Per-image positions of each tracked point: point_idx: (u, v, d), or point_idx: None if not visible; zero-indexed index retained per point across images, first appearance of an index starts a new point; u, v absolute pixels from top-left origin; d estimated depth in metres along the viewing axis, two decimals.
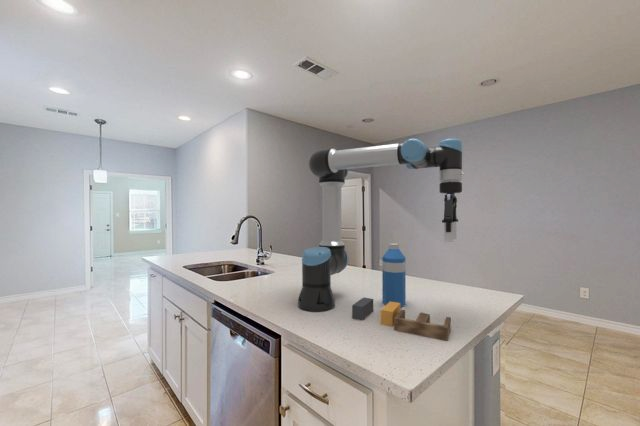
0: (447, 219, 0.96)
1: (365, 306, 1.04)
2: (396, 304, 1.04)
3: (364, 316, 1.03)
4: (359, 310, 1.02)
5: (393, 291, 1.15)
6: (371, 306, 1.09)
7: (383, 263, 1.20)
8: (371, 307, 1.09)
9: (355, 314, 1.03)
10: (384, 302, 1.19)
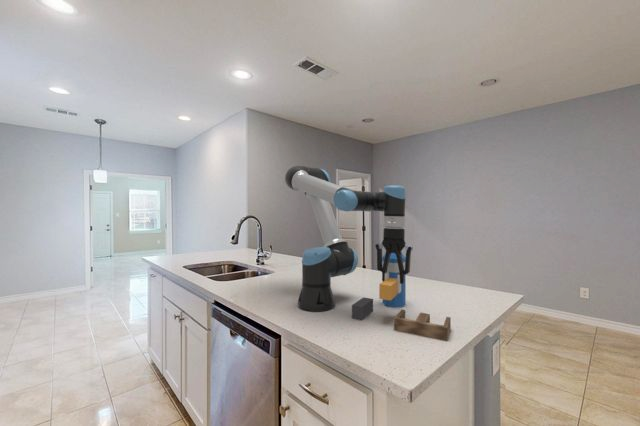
0: None
1: (365, 306, 1.04)
2: (395, 280, 1.04)
3: (364, 316, 1.03)
4: (358, 310, 1.02)
5: None
6: (371, 306, 1.09)
7: (383, 263, 1.20)
8: (371, 307, 1.09)
9: (354, 314, 1.03)
10: (384, 302, 1.19)
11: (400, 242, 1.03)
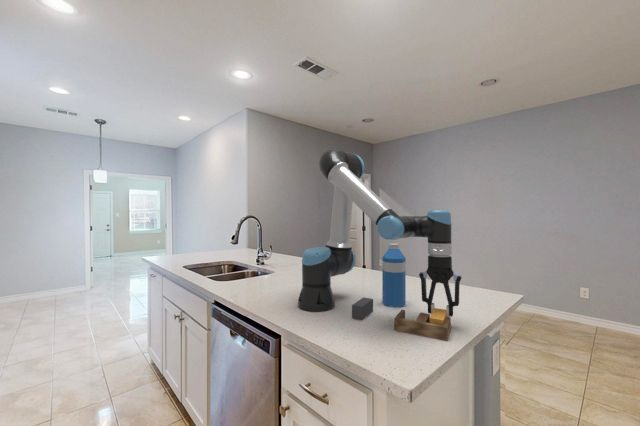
0: None
1: (365, 306, 1.04)
2: (443, 311, 0.96)
3: (364, 316, 1.03)
4: (358, 310, 1.02)
5: (393, 291, 1.15)
6: (371, 306, 1.09)
7: (383, 263, 1.20)
8: (371, 307, 1.09)
9: (355, 314, 1.03)
10: (384, 302, 1.19)
11: (448, 271, 0.95)
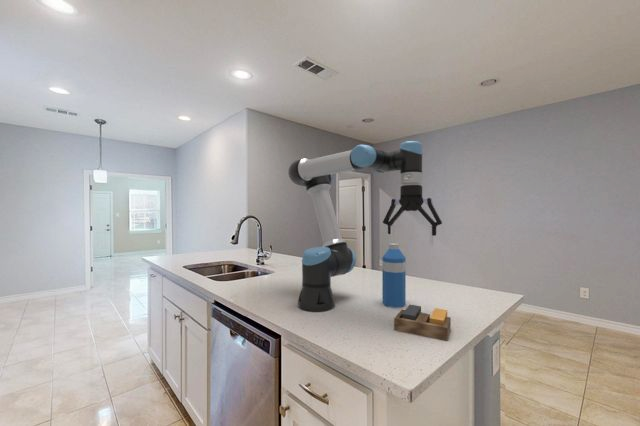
0: None
1: (416, 315, 0.95)
2: (443, 311, 0.96)
3: None
4: (410, 319, 0.93)
5: (393, 291, 1.15)
6: None
7: (383, 263, 1.20)
8: None
9: None
10: (384, 302, 1.19)
11: (417, 199, 1.01)
